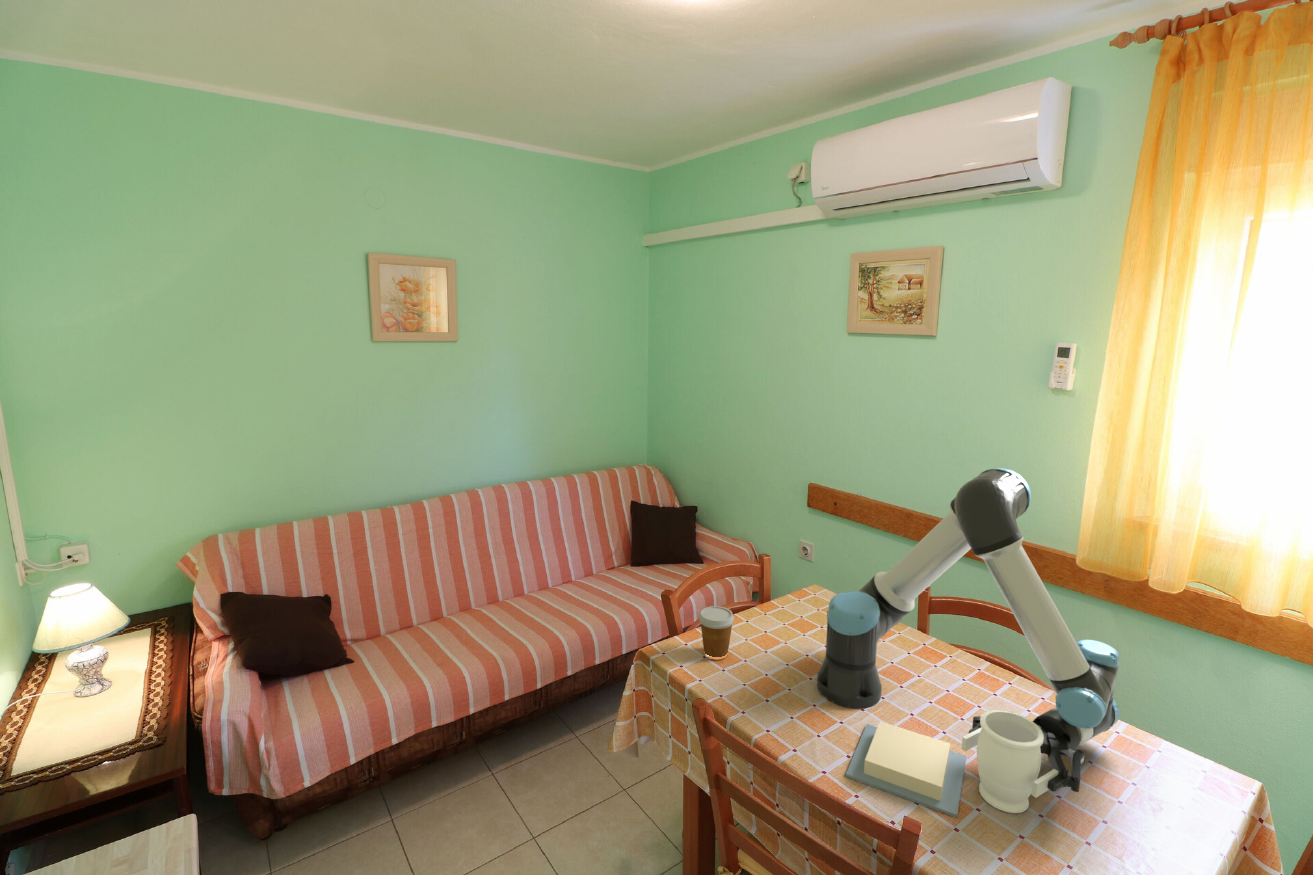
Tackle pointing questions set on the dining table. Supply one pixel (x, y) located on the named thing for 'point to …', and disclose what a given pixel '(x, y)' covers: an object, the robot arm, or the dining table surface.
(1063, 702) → the robot arm
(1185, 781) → the dining table surface
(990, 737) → the jar
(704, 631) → the disposable coffee cup
